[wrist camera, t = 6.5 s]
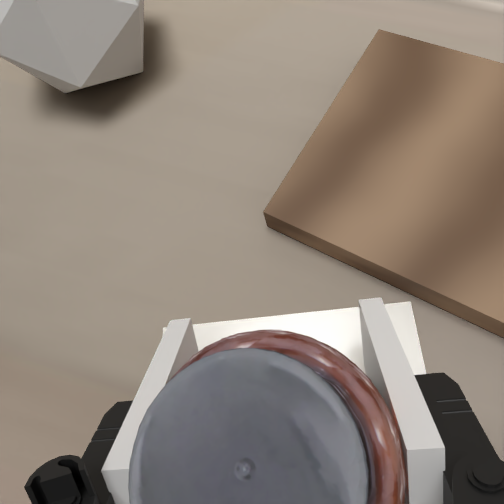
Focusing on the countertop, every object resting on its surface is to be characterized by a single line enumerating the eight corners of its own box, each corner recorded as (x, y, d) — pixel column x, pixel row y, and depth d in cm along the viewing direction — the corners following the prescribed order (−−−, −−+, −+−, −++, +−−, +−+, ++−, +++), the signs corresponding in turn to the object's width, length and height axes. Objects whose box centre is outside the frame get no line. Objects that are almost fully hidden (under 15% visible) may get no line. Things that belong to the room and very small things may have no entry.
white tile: (159, 628, 16) (157, 630, 16) (163, 328, 20) (162, 327, 20) (479, 622, 15) (480, 623, 15) (410, 302, 19) (410, 300, 19)
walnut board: (267, 226, 22) (263, 211, 20) (376, 51, 25) (378, 29, 23) (640, 402, 16) (669, 399, 15) (720, 153, 19) (749, 131, 18)
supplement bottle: (289, 343, 19) (243, 229, 9) (406, 449, 17) (530, 461, 7) (190, 453, 18) (5, 470, 8) (301, 582, 16) (252, 849, 5)
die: (171, 11, 30) (31, -123, 24) (201, 20, 23) (15, -164, 17) (100, 109, 31) (-46, 4, 26) (108, 146, 24) (-89, 13, 19)
